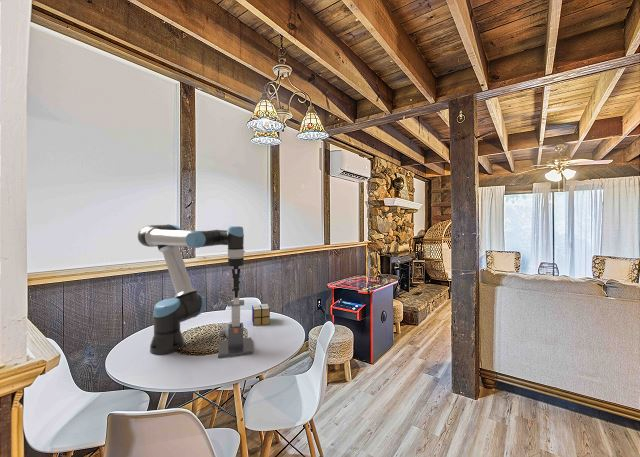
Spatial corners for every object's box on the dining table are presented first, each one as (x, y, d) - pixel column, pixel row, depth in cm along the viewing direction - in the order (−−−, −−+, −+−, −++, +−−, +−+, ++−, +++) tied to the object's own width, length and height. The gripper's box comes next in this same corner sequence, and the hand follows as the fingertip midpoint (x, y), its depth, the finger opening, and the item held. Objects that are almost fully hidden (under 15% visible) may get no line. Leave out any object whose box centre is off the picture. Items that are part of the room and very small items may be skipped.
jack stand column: (227, 347, 140) (227, 303, 139) (227, 343, 144) (227, 300, 144) (244, 345, 143) (244, 301, 142) (244, 341, 147) (244, 299, 146)
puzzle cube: (252, 320, 183) (252, 304, 182) (267, 318, 186) (267, 303, 185) (253, 326, 173) (253, 309, 173) (269, 324, 176) (270, 308, 176)
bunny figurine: (221, 333, 153) (217, 320, 166) (220, 342, 153) (217, 329, 166) (239, 330, 157) (234, 318, 170) (239, 338, 158) (234, 326, 171)
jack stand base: (218, 358, 134) (217, 333, 133) (219, 343, 149) (219, 321, 149) (253, 353, 138) (253, 330, 138) (251, 340, 154) (251, 318, 153)
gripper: (244, 260, 131) (244, 306, 132) (243, 254, 155) (243, 293, 156) (227, 261, 129) (227, 308, 129) (228, 254, 153) (229, 294, 153)
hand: (236, 300), depth 143 cm, fingers open, 13 cm apart
